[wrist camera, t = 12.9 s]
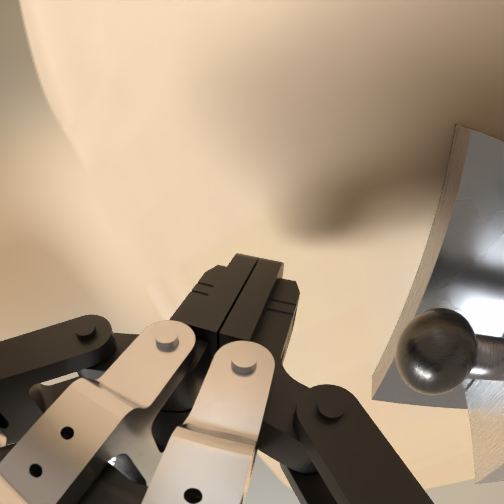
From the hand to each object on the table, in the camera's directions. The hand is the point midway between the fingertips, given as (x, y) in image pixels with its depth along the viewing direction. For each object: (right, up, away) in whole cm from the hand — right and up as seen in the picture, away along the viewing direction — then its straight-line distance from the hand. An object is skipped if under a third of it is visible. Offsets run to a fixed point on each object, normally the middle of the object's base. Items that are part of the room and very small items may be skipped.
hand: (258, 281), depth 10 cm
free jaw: (+9, -1, -1) cm, 9 cm away
